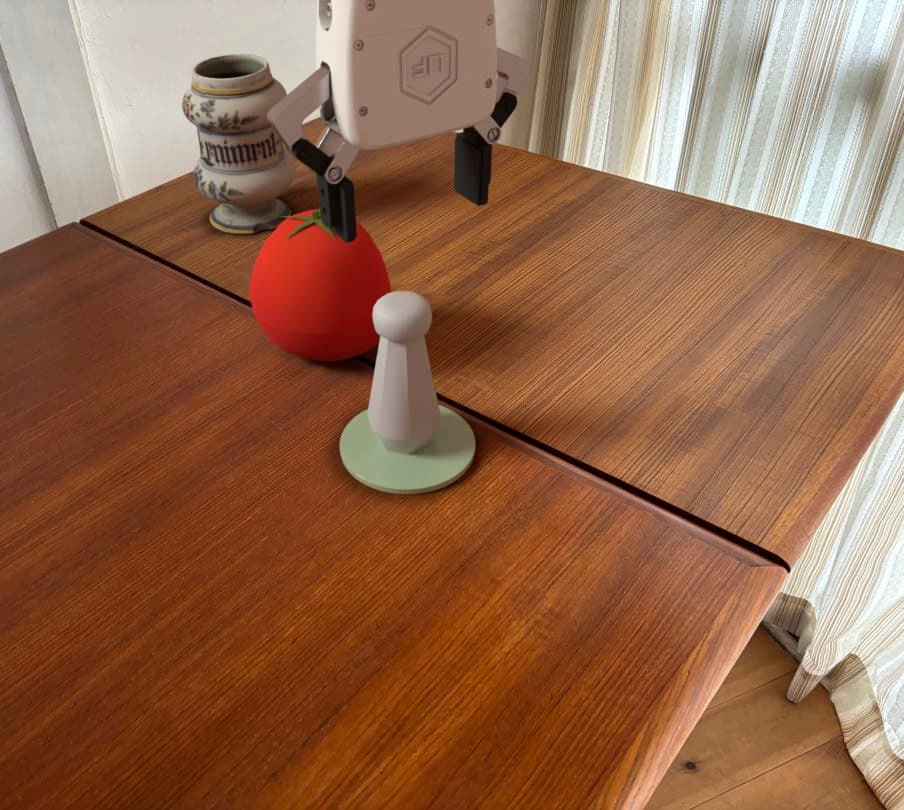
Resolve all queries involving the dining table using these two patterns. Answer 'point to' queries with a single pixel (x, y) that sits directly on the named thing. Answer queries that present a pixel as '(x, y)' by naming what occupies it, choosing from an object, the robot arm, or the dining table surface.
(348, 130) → the robot arm
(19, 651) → the dining table surface
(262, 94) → the apothecary jar
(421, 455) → the coaster
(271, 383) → the dining table surface
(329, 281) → the tomato
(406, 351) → the salt shaker
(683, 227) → the dining table surface
